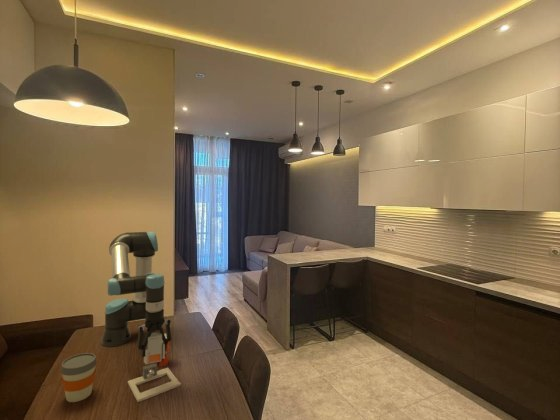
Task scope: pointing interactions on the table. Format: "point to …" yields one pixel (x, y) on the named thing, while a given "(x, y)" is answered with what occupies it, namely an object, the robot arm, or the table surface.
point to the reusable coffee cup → (78, 376)
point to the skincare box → (154, 347)
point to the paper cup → (166, 359)
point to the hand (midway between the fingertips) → (154, 359)
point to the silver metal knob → (150, 372)
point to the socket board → (146, 378)
